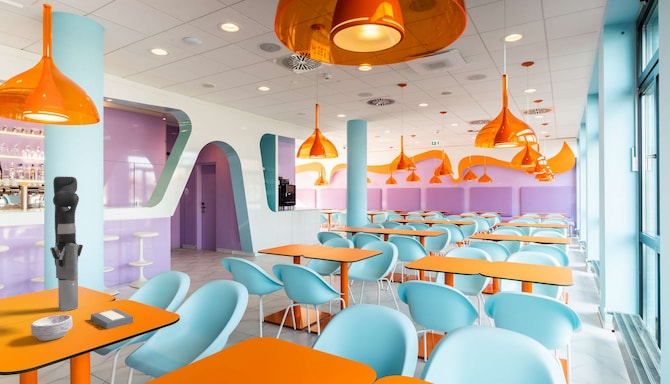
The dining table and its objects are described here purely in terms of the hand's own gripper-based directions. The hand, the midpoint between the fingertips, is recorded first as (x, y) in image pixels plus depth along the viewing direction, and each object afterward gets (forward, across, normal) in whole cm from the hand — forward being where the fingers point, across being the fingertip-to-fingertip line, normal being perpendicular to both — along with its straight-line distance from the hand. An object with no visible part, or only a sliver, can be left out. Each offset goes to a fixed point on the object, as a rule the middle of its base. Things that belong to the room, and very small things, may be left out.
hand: (67, 266), depth 195 cm
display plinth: (+29, -15, +15) cm, 36 cm away
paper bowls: (+29, +11, +17) cm, 35 cm away
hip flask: (+7, 0, 0) cm, 7 cm away
